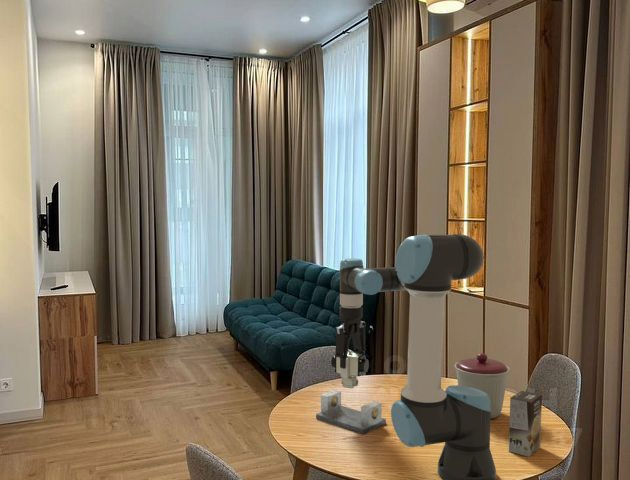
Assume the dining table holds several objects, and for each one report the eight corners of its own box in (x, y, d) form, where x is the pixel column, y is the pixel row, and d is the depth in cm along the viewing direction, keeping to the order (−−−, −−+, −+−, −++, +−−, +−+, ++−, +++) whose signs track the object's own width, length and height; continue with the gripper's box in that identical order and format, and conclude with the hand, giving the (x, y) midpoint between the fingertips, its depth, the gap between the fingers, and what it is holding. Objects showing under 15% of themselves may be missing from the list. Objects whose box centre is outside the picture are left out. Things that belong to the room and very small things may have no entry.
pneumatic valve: (363, 391, 193) (363, 354, 192) (330, 386, 198) (331, 350, 198) (369, 386, 198) (370, 351, 197) (337, 381, 203) (338, 346, 203)
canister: (490, 402, 216) (491, 345, 215) (519, 421, 199) (521, 358, 197) (444, 407, 212) (445, 348, 210) (470, 426, 194) (471, 362, 193)
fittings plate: (386, 423, 196) (386, 401, 196) (363, 434, 188) (363, 410, 187) (338, 408, 210) (338, 388, 209) (315, 418, 201) (315, 396, 200)
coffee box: (529, 457, 171) (531, 402, 170) (508, 451, 175) (509, 397, 174) (540, 447, 178) (542, 394, 177) (519, 441, 182) (521, 389, 181)
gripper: (359, 300, 205) (359, 367, 207) (323, 308, 192) (323, 379, 193) (377, 303, 200) (376, 371, 202) (341, 311, 187) (341, 384, 188)
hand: (350, 375), depth 198 cm, fingers closed on pneumatic valve, 6 cm apart
